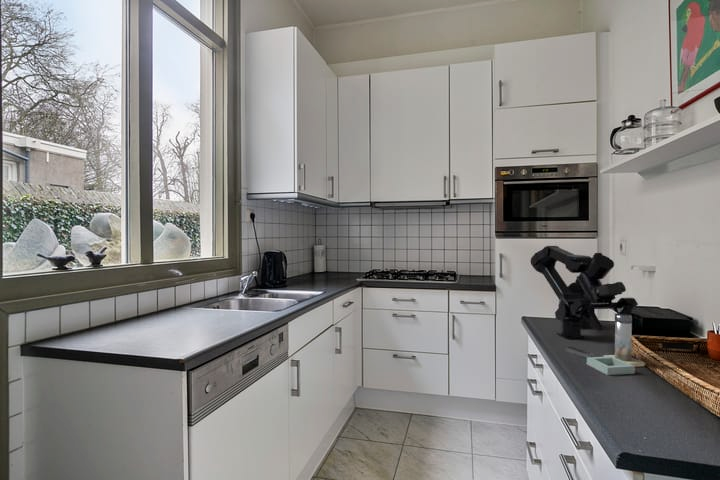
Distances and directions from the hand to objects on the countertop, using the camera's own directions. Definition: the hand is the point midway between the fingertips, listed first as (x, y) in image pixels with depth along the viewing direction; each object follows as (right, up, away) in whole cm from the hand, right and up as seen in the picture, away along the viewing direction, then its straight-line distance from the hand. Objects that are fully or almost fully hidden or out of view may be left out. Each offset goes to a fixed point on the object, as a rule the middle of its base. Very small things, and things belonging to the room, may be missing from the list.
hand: (616, 330), depth 113 cm
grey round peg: (0, -8, -2) cm, 8 cm away
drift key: (-8, -9, +5) cm, 13 cm away
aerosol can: (+10, -8, +36) cm, 39 cm away
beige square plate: (0, -9, -3) cm, 9 cm away
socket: (-7, -9, -7) cm, 13 cm away
